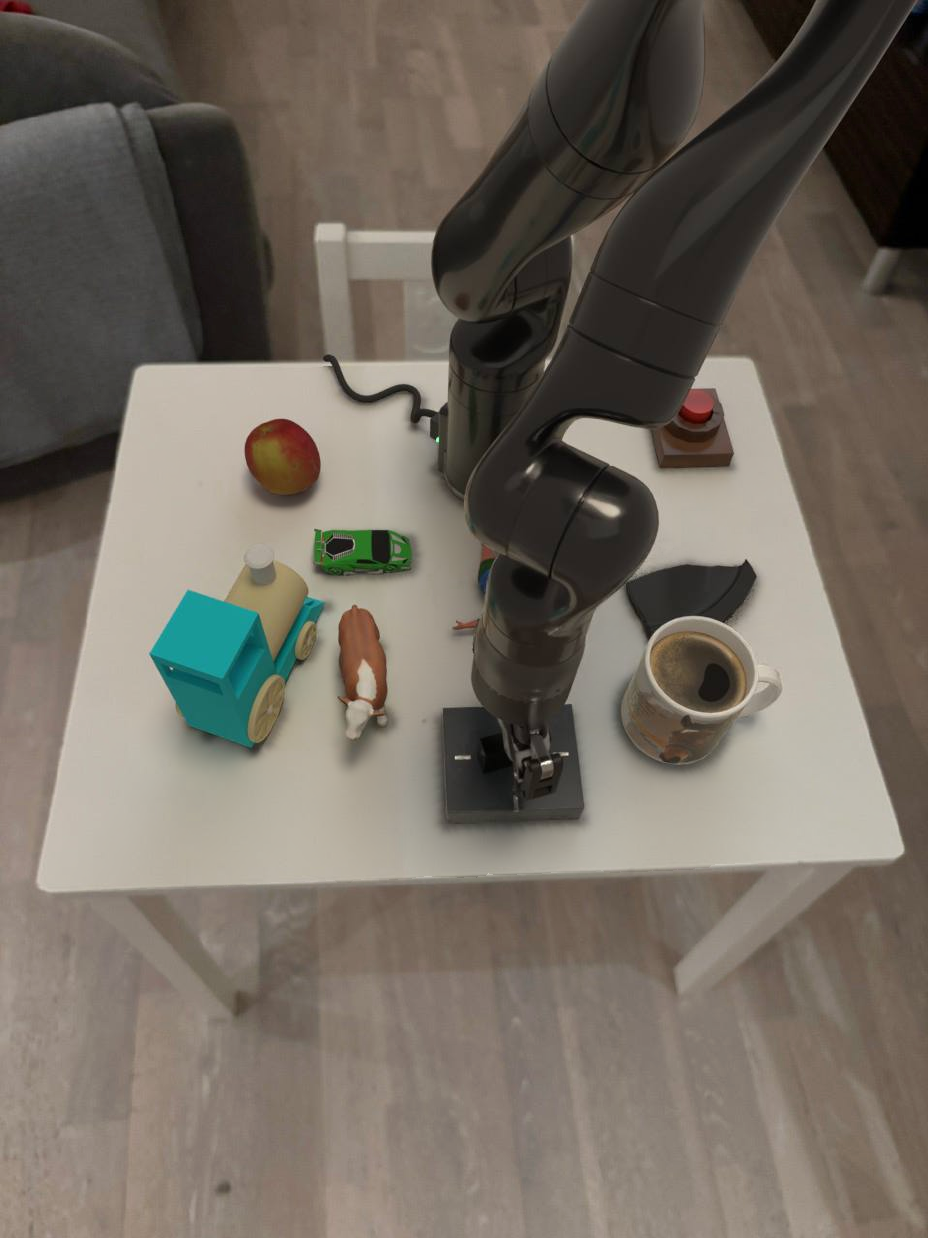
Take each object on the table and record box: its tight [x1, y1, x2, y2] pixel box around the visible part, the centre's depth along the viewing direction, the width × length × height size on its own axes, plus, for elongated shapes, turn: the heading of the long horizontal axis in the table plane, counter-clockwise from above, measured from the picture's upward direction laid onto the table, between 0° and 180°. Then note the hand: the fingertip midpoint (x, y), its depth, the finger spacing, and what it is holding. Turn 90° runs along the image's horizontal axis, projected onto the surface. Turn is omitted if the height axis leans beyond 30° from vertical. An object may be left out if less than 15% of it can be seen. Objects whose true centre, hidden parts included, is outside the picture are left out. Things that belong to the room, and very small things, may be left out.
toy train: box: [148, 543, 325, 748], centre depth 81 cm, size 8×17×15 cm, turn 161°
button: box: [678, 390, 714, 424], centre depth 101 cm, size 4×4×2 cm
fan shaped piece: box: [625, 558, 758, 636], centre depth 93 cm, size 8×14×2 cm, turn 108°
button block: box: [650, 387, 735, 469], centre depth 103 cm, size 10×8×4 cm
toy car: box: [312, 528, 413, 576], centre depth 94 cm, size 10×5×2 cm, turn 94°
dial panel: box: [441, 703, 585, 824], centre depth 82 cm, size 12×10×3 cm
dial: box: [477, 729, 552, 774], centre depth 79 cm, size 6×2×4 cm, turn 107°
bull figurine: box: [337, 604, 389, 741], centre depth 83 cm, size 4×13×8 cm, turn 5°
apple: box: [243, 418, 322, 496], centre depth 96 cm, size 8×8×8 cm
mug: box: [620, 616, 783, 766], centre depth 82 cm, size 10×12×11 cm
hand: (506, 739), depth 78 cm, fingers open, 8 cm apart
